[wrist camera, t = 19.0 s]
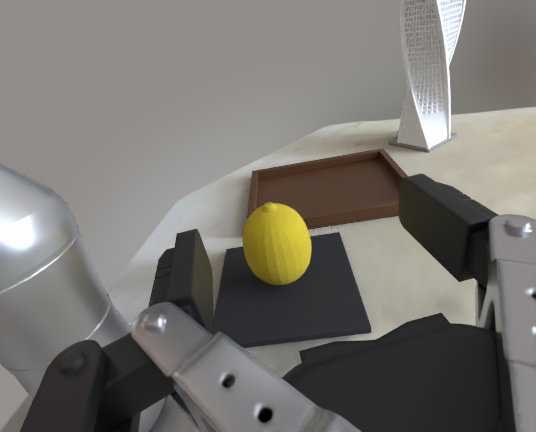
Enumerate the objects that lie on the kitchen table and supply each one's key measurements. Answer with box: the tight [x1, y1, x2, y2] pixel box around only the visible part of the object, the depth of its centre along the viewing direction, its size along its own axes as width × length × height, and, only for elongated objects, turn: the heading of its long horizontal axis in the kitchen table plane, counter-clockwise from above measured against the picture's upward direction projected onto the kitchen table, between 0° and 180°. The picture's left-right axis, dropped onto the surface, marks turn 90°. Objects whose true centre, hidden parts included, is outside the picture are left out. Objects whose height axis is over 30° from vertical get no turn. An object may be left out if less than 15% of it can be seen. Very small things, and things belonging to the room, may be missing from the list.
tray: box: [247, 149, 408, 229], centre depth 41 cm, size 20×16×2 cm
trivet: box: [213, 232, 371, 348], centre depth 28 cm, size 12×12×1 cm
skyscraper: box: [389, 0, 466, 152], centre depth 42 cm, size 8×8×28 cm
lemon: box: [243, 202, 312, 285], centre depth 26 cm, size 6×6×8 cm
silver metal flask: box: [0, 162, 166, 432], centre depth 16 cm, size 6×7×20 cm
